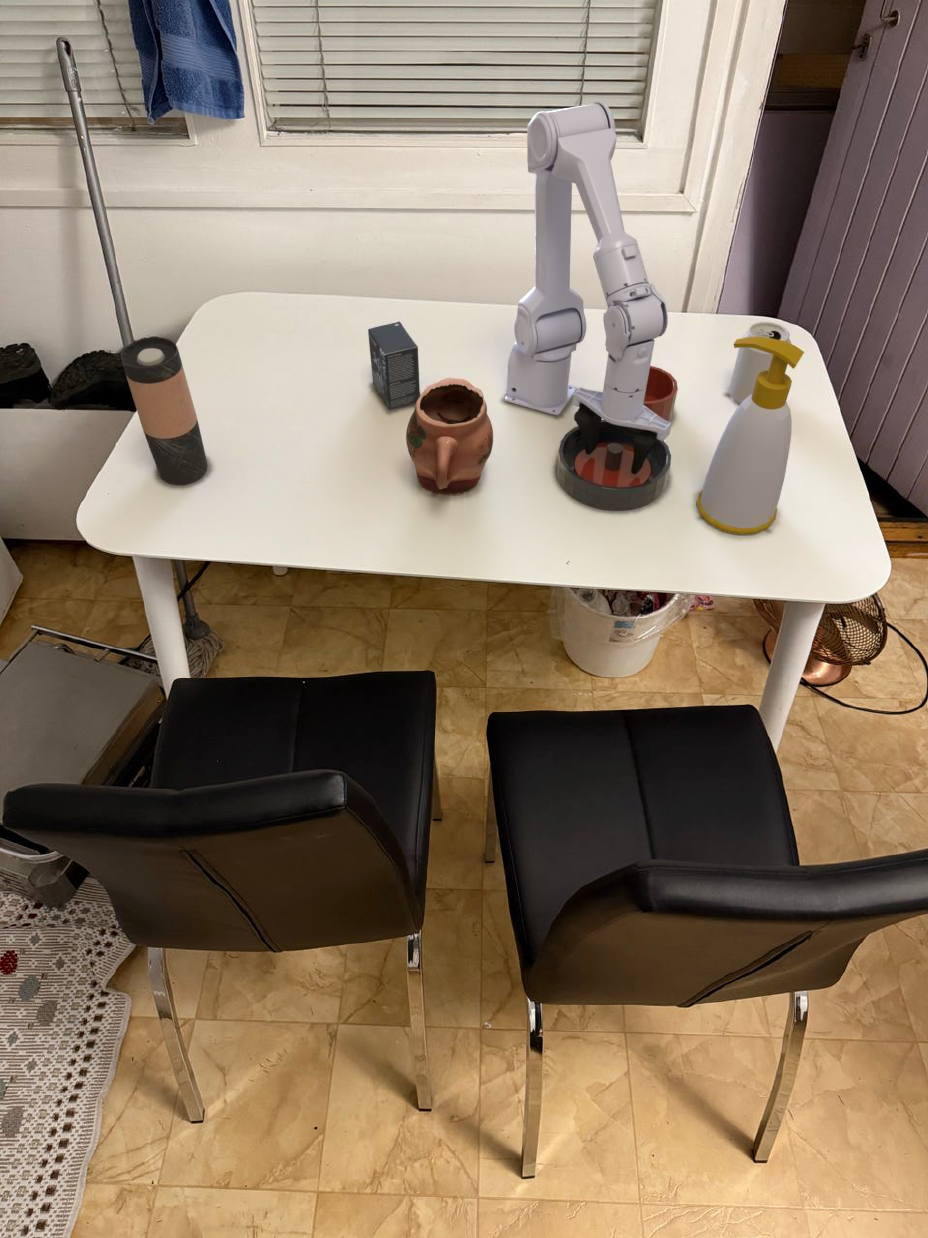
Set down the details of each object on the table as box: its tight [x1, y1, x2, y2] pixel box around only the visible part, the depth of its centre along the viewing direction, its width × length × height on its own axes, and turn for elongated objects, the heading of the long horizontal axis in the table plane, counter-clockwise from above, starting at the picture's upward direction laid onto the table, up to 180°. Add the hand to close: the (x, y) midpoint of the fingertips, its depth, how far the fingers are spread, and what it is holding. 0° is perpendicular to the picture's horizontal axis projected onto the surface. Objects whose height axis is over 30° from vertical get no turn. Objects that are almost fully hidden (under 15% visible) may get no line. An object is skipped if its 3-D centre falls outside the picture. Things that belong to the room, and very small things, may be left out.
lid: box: [574, 443, 651, 487], centre depth 134 cm, size 11×11×4 cm
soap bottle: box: [696, 336, 805, 536], centre depth 121 cm, size 11×12×26 cm
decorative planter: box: [405, 377, 494, 496], centre depth 129 cm, size 20×12×14 cm, turn 0°
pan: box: [556, 419, 672, 512], centre depth 134 cm, size 16×16×4 cm
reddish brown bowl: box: [643, 365, 679, 423], centre depth 144 cm, size 10×10×5 cm
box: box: [367, 321, 421, 411], centre depth 145 cm, size 8×6×11 cm
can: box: [728, 321, 792, 405], centre depth 144 cm, size 8×8×12 cm
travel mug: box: [120, 336, 208, 486], centre depth 129 cm, size 8×8×20 cm
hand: (613, 460), depth 134 cm, fingers open, 7 cm apart
